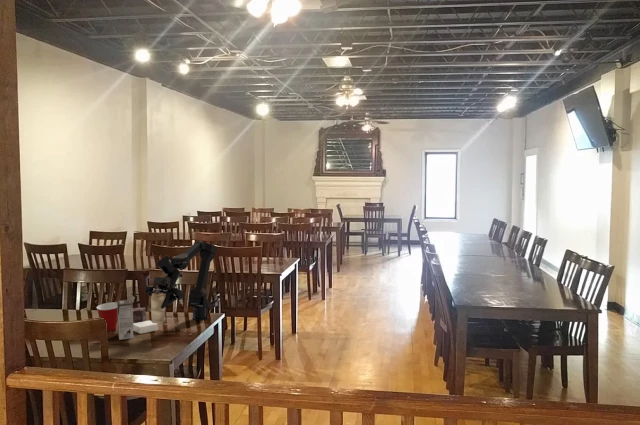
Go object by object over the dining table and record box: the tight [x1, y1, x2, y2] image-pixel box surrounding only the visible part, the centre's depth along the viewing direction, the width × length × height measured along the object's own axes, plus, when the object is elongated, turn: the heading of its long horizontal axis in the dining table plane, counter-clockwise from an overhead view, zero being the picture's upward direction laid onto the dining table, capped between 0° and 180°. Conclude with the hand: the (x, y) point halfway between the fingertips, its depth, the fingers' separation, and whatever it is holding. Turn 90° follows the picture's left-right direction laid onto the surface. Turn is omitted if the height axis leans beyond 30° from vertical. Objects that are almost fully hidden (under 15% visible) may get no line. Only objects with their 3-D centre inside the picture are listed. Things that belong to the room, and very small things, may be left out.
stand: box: [133, 320, 159, 334], centre depth 254 cm, size 9×9×3 cm
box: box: [133, 307, 147, 323], centre depth 266 cm, size 6×6×7 cm
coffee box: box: [116, 299, 134, 341], centre depth 243 cm, size 9×6×16 cm
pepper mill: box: [150, 290, 166, 324], centre depth 243 cm, size 6×6×15 cm
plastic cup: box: [96, 302, 118, 332], centre depth 255 cm, size 11×11×12 cm
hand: (156, 308), depth 242 cm, fingers closed on pepper mill, 6 cm apart
